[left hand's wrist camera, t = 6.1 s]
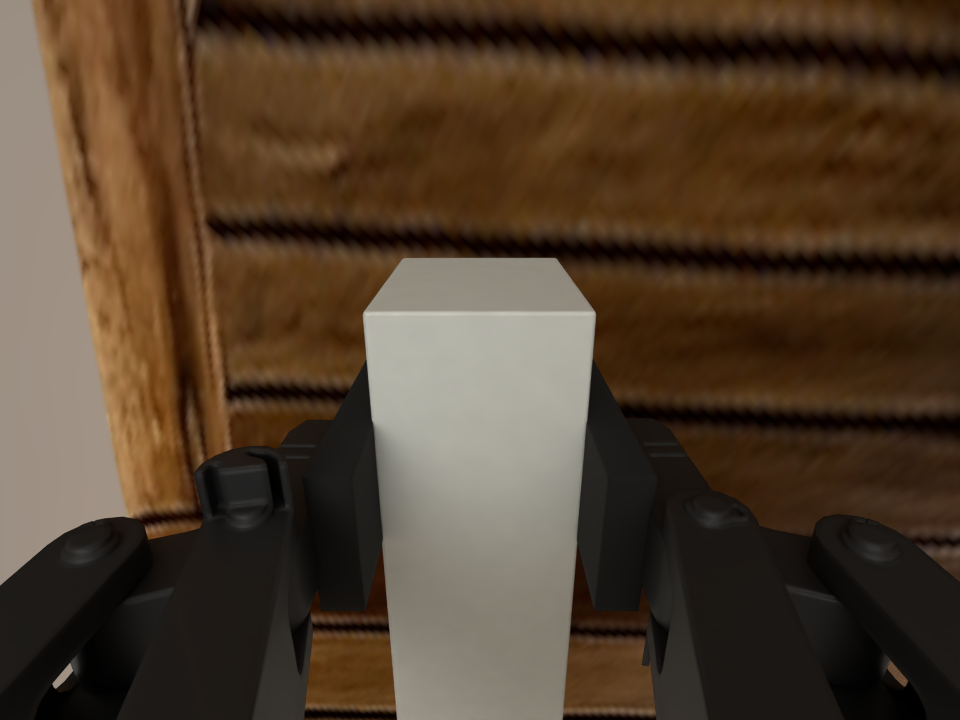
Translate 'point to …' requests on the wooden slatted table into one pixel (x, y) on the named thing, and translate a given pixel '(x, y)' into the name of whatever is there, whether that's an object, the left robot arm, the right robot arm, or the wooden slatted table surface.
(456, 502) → the bar
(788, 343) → the wooden slatted table surface
